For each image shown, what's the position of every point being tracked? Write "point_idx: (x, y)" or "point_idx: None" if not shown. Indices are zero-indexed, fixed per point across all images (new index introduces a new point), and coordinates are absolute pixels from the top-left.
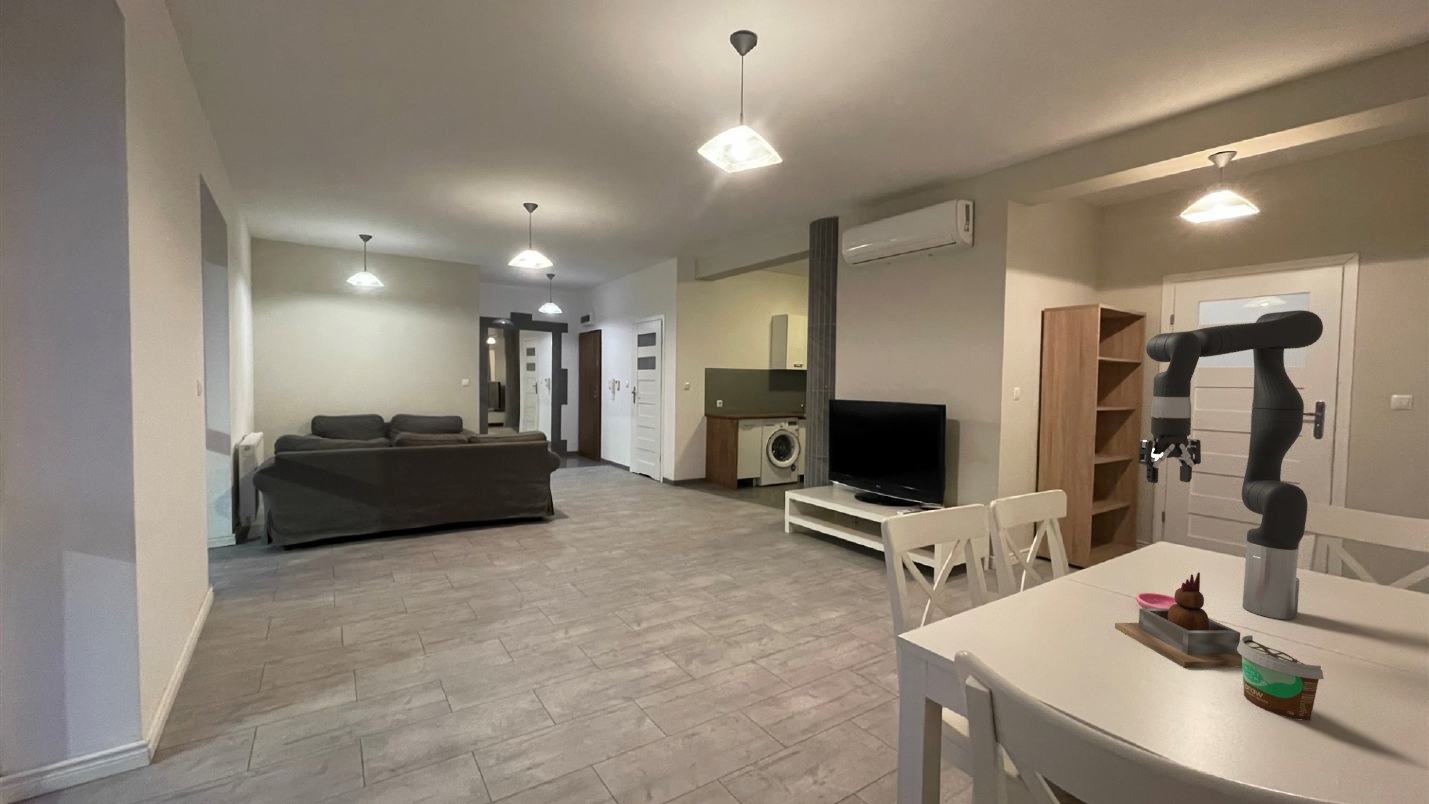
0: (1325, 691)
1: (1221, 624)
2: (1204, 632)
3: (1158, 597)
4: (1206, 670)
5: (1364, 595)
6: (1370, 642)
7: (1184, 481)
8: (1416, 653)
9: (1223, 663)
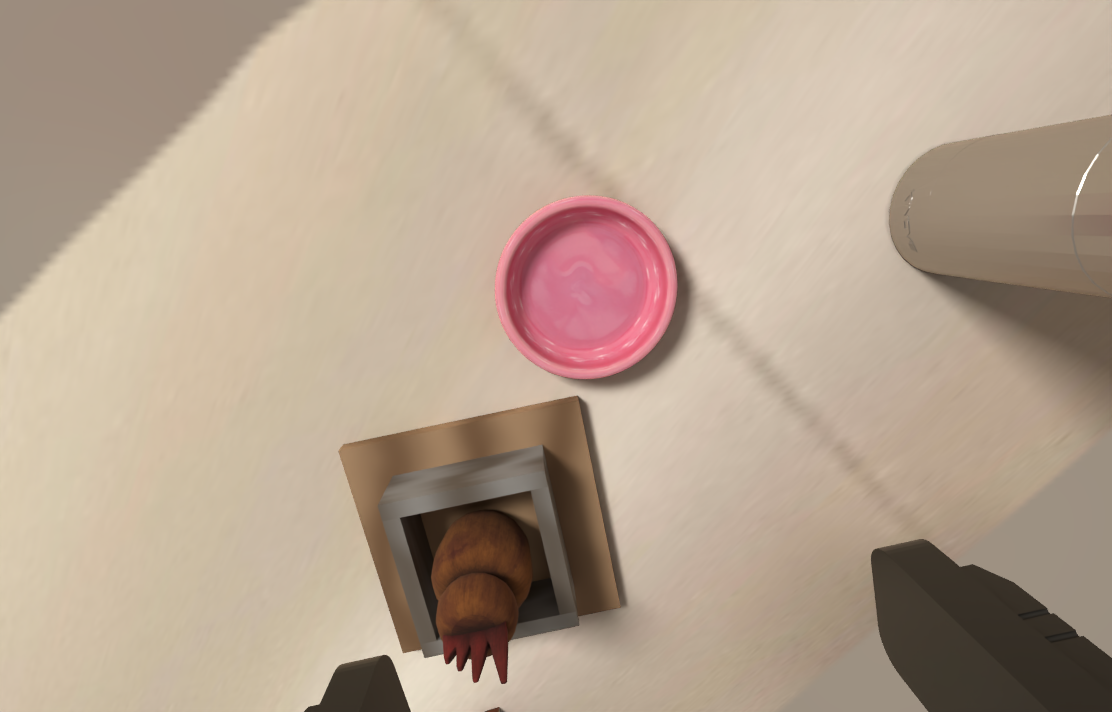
0: (652, 682)
1: (566, 579)
2: None
3: (604, 211)
4: None
5: None
6: (1037, 401)
7: (881, 608)
8: (1084, 450)
9: None
